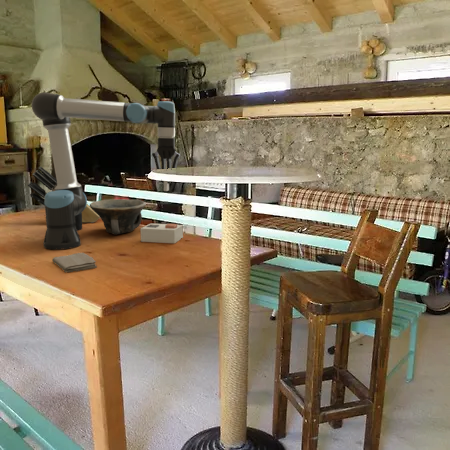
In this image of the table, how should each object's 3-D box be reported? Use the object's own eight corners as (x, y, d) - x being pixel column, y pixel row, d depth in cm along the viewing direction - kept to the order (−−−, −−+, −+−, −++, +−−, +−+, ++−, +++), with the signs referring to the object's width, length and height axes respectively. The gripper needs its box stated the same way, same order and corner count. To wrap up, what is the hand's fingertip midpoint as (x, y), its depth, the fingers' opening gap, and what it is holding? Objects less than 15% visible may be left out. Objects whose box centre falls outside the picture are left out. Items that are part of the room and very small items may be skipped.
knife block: (32, 222, 245) (28, 165, 239) (99, 219, 256) (96, 164, 250) (30, 226, 235) (25, 167, 229) (100, 222, 245) (97, 166, 239)
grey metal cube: (155, 236, 204) (155, 226, 204) (147, 235, 205) (146, 226, 204) (158, 234, 208) (158, 224, 208) (150, 233, 209) (150, 224, 208)
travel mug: (79, 231, 224) (77, 191, 220) (64, 231, 224) (62, 191, 220) (84, 228, 231) (82, 189, 227) (70, 227, 231) (67, 189, 228)
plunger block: (174, 243, 199) (174, 230, 198) (140, 241, 202) (140, 228, 201) (182, 237, 210) (182, 225, 209) (150, 235, 214) (150, 223, 213)
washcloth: (66, 274, 155) (65, 266, 155) (51, 263, 169) (50, 255, 169) (99, 268, 162) (99, 260, 162) (82, 258, 176) (81, 250, 176)
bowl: (134, 239, 206) (132, 207, 203) (81, 237, 211) (79, 205, 208) (154, 228, 232) (153, 199, 229) (107, 226, 237) (105, 197, 234)
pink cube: (174, 235, 202) (174, 225, 201) (165, 235, 203) (165, 225, 202) (177, 233, 206) (177, 224, 206) (168, 233, 207) (168, 223, 206)
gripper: (183, 137, 200) (182, 190, 205) (155, 137, 203) (156, 189, 208) (177, 137, 193) (177, 192, 198) (149, 137, 196) (149, 190, 201)
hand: (166, 190), depth 203 cm, fingers closed
